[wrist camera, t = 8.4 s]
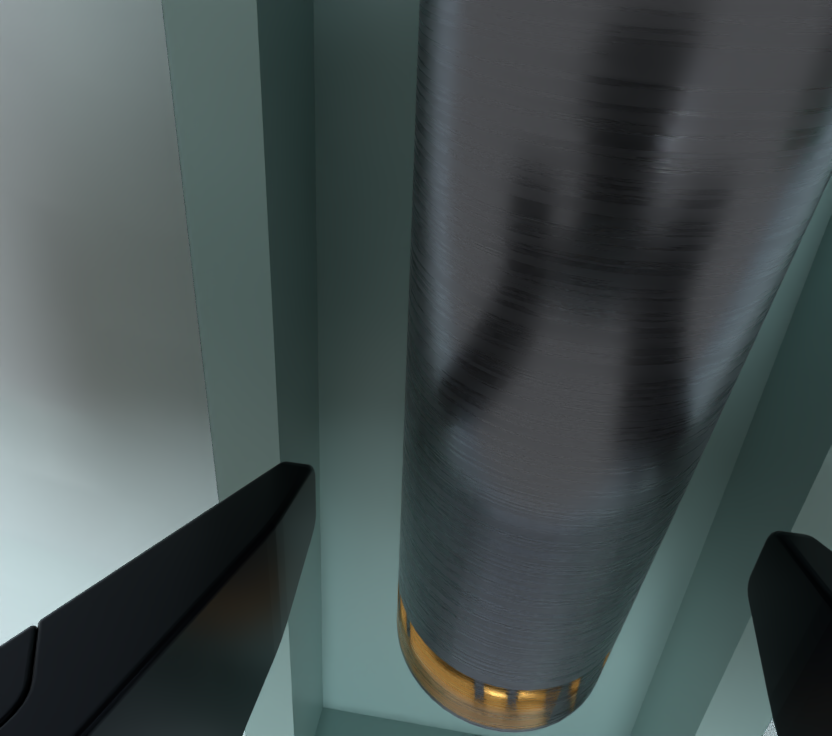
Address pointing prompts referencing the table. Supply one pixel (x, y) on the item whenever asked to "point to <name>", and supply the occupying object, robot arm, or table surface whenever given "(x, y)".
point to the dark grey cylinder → (582, 311)
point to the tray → (386, 376)
